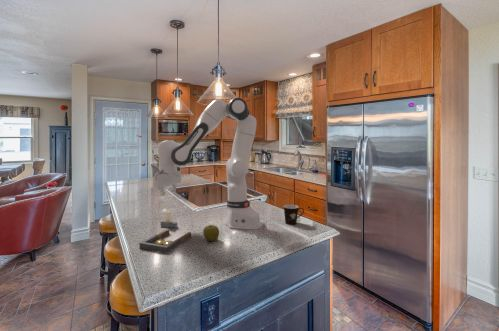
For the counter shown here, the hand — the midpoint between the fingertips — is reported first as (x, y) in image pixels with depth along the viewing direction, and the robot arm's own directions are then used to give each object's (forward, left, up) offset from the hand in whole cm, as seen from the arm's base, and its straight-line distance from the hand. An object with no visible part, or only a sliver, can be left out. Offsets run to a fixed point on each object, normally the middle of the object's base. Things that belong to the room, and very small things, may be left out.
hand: (168, 193), depth 147 cm
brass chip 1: (-11, +22, -19) cm, 31 cm away
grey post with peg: (0, 0, -19) cm, 19 cm away
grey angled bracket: (-13, +24, -19) cm, 33 cm away
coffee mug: (-65, -29, -19) cm, 74 cm away
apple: (-32, +10, -19) cm, 39 cm away
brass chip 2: (-16, +22, -19) cm, 33 cm away
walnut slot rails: (-13, +14, -19) cm, 27 cm away
